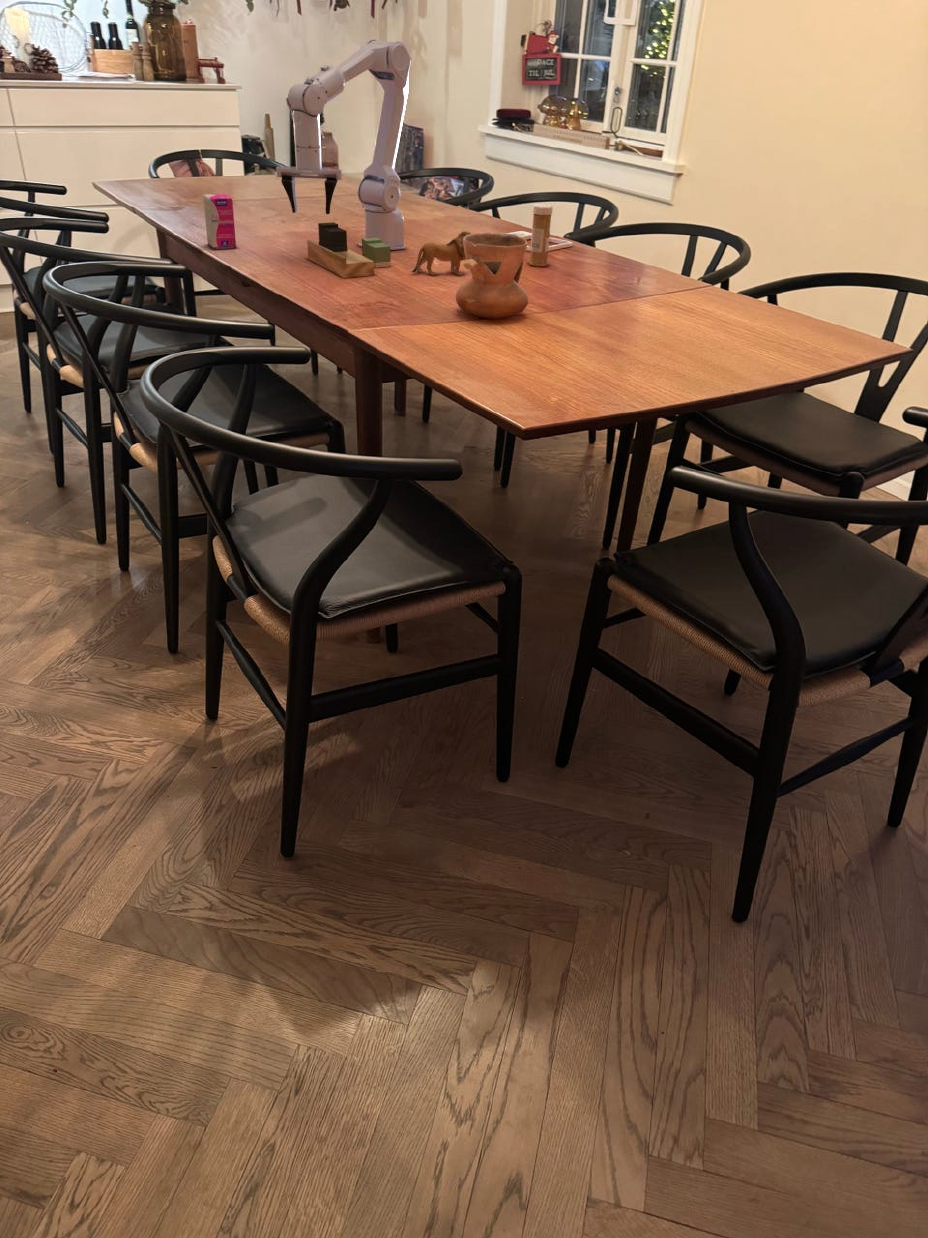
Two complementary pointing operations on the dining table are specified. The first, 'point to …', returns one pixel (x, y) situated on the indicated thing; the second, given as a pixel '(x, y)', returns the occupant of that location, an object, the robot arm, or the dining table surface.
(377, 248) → the green block
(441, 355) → the dining table surface
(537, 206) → the sprinkles bottle
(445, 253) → the lion figurine
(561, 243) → the photo frame
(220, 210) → the supplement box
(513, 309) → the ceramic jug
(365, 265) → the wooden tray
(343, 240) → the black block
